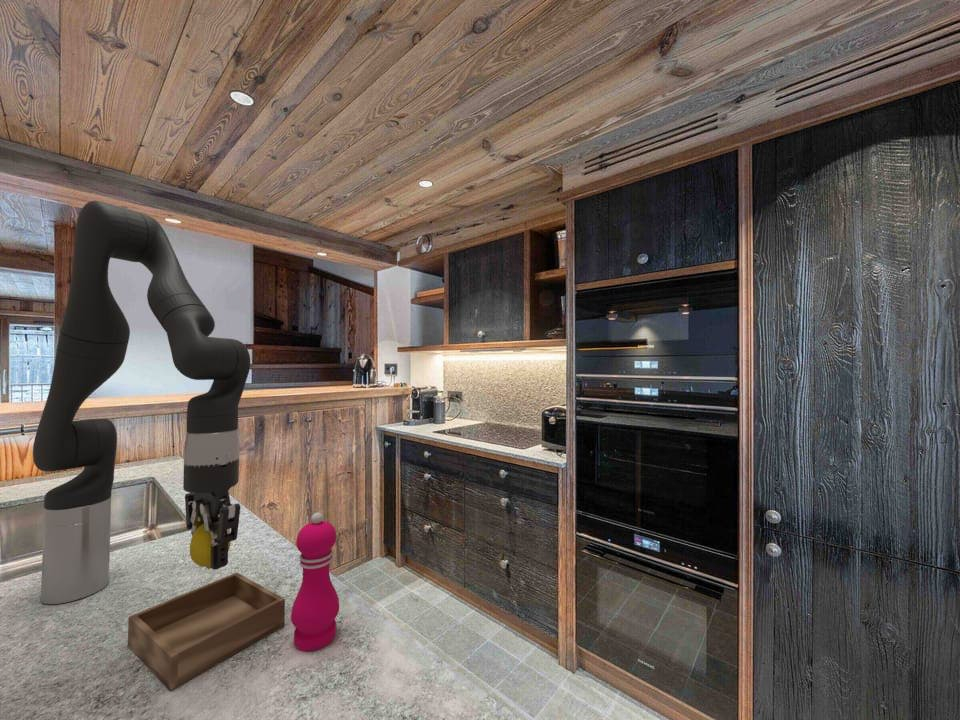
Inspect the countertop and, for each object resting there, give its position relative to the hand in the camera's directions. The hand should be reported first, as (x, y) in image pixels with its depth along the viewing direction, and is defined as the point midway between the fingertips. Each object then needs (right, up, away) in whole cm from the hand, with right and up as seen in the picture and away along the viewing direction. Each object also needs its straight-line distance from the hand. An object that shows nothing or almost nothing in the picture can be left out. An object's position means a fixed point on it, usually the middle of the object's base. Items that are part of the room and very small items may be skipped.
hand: (210, 561), depth 64 cm
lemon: (0, -1, 0) cm, 1 cm away
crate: (0, -12, 0) cm, 12 cm away
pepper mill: (+18, -12, -1) cm, 21 cm away
